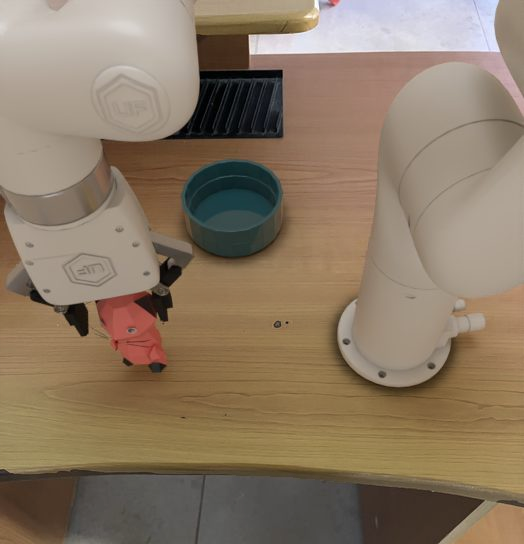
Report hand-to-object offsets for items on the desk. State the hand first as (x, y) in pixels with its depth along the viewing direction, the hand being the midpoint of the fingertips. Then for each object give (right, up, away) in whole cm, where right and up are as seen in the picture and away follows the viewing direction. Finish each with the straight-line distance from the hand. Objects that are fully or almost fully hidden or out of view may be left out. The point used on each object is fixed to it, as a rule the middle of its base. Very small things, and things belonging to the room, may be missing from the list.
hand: (124, 316), depth 56 cm
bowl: (+10, +14, +19) cm, 26 cm away
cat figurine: (+1, -4, +7) cm, 8 cm away
